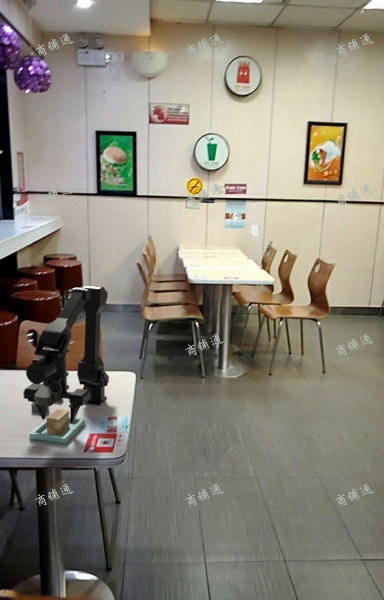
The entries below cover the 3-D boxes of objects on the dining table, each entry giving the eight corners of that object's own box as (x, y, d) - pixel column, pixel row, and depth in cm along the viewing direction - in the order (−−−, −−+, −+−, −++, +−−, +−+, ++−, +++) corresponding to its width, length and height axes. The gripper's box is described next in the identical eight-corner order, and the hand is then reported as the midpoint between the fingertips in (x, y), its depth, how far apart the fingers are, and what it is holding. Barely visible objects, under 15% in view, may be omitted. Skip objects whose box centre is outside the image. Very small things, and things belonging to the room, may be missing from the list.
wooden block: (69, 426, 147) (68, 410, 146) (59, 435, 141) (58, 419, 140) (57, 424, 148) (56, 409, 147) (46, 433, 142) (46, 417, 141)
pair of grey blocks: (62, 399, 166) (62, 392, 166) (45, 413, 156) (45, 406, 155) (49, 397, 167) (49, 390, 167) (31, 411, 157) (31, 404, 156)
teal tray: (85, 423, 150) (85, 418, 149) (64, 444, 137) (64, 438, 137) (52, 419, 152) (52, 413, 152) (29, 439, 140) (29, 433, 139)
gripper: (10, 377, 135) (13, 429, 138) (72, 385, 131) (74, 438, 134) (32, 364, 145) (35, 412, 149) (90, 371, 141) (91, 420, 145)
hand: (58, 421), depth 144 cm, fingers open, 9 cm apart
